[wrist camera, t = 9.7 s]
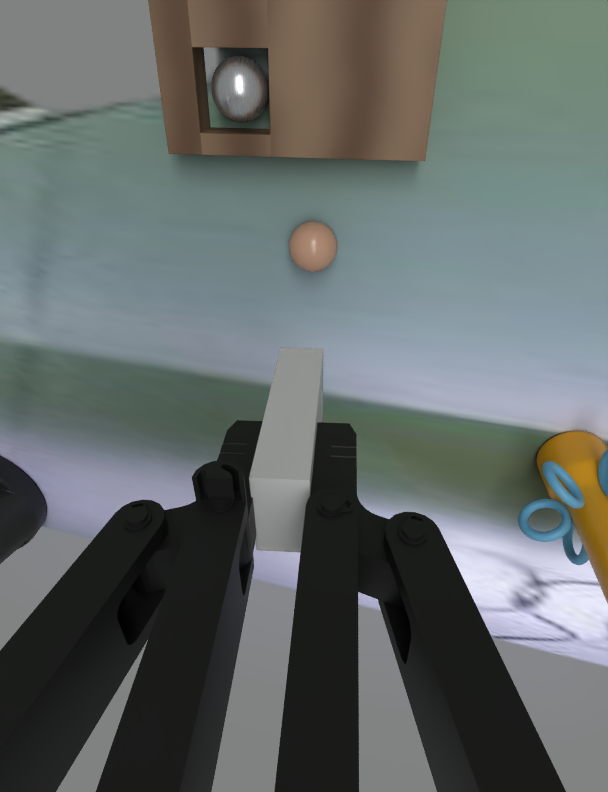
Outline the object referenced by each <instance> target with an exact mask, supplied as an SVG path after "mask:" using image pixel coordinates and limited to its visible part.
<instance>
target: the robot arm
mask: <svg viewBox="0 0 608 792" xmlns="http://www.w3.org/2000/svg"><path fill="white" fill-rule="evenodd" d="M322 415H323V349H313V348H281V349H280V353H279V357H278V361H277V365H276V369H275V373H274V378H273V382H272V386H271V390H270V394H269V398H268V402H267V406H266V410H265V414H264V418H263V421H239V420H237V421H236V422H235V423H234V424H233V425H232V426H231V427H230V428H229V429H228V430H227V433H226V436H225V439H224V442H223V445H222V448H221V451H220V454H219V457H218V460H217V461H213V462H210V463H207V464H204V465H203V466H201V467H200V468H199V469H197V470H196V471H195V473H194V474H193V476H192V481H193V486H194V491H195V496H196V501H195V502H193V503H191V504H189V505H186V506H182V507H178V508H173V509H169V510H164V509H163V508H162V507H161V505H160V504H159V503H156V502H154V501H152V500H139V501H134V502H131V503H129V504H127V505H125V506H123V507H122V508H121V509H119V510H118V511H117V512H116V513H115V514H114V515H113V517H112V518H111V519H110V520H109V521H108V523H107V524H106V525H105V526H104V527H103V529H102V530H101V531H100V532H99V533H98V534H97V536H96V537H95V538H94V539H93V540H92V542H91V543H90V544H89V545H88V547H87V548H86V549H85V550H84V551H83V552H82V554H81V555H80V556H79V557H78V558H77V560H76V561H75V562H74V563H73V564H72V566H71V567H70V568H69V569H68V570H67V572H66V573H65V574H64V575H63V577H62V578H61V579H60V580H59V581H58V582H57V584H56V585H55V586H54V587H53V588H52V590H51V591H50V592H49V593H48V594H47V596H46V597H45V598H44V599H43V600H42V602H41V603H40V604H39V605H38V606H37V608H36V609H35V610H34V611H33V612H32V614H31V615H30V616H29V617H28V618H27V619H26V621H25V622H24V623H23V624H22V625H21V627H20V628H19V629H18V630H17V632H16V633H15V634H14V635H13V636H12V637H11V639H10V640H9V641H8V642H7V643H6V645H5V646H4V647H3V648H2V649H1V651H0V792H56V791H57V789H58V787H59V786H60V784H61V782H62V781H63V779H64V777H65V776H66V774H67V772H68V770H69V769H70V767H71V766H72V764H73V762H74V761H75V759H76V757H77V756H78V754H79V753H80V751H81V749H82V748H83V746H84V744H85V743H86V741H87V739H88V738H89V736H90V734H91V733H92V731H93V729H94V728H95V726H96V724H97V723H98V721H99V719H100V718H101V716H102V714H103V713H104V711H105V709H106V708H107V706H108V704H109V703H110V701H111V699H112V698H113V696H114V695H115V693H116V691H117V690H118V688H119V686H120V685H121V683H122V681H123V679H124V678H125V676H126V675H127V673H128V671H129V670H130V668H131V666H132V665H133V663H134V661H135V660H136V658H137V656H138V655H139V653H140V651H141V650H142V648H143V647H144V645H145V643H146V642H147V640H148V642H147V645H146V648H145V650H144V654H143V657H142V659H141V662H140V665H139V668H138V671H137V674H136V677H135V680H134V682H133V685H132V688H131V692H130V694H129V697H128V700H127V703H126V706H125V709H124V712H123V714H122V717H121V720H120V723H119V726H118V729H117V732H116V735H115V738H114V741H113V743H112V746H111V749H110V752H109V755H108V758H107V761H106V764H105V767H104V769H103V772H102V775H101V778H100V781H99V784H98V787H97V790H96V792H211V790H212V785H213V779H214V774H215V769H216V764H217V759H218V752H219V748H220V743H221V738H222V732H223V727H224V722H225V717H226V711H227V706H228V701H229V695H230V689H231V685H232V679H233V674H234V669H235V664H236V658H237V653H238V648H239V643H240V637H241V632H242V627H243V621H244V616H245V611H246V606H247V601H248V595H249V590H250V584H251V579H252V574H253V569H254V560H253V550H254V545H255V540H256V549H257V550H268V551H286V552H301V554H300V563H299V572H298V582H297V591H296V601H295V609H294V618H293V627H292V636H291V646H290V655H289V664H288V674H287V683H286V692H285V700H284V710H283V720H282V728H281V737H280V746H279V755H278V764H277V774H276V783H275V792H359V730H358V729H359V726H358V725H359V724H358V723H359V721H358V720H359V712H358V711H359V710H358V709H359V707H358V592H360V593H363V594H365V595H368V596H371V597H373V598H376V599H378V601H379V605H380V608H381V611H382V614H383V618H384V621H385V624H386V628H387V630H388V634H389V637H390V641H391V644H392V647H393V650H394V653H395V657H396V660H397V663H398V666H399V670H400V673H401V676H402V679H403V683H404V686H405V689H406V692H407V696H408V699H409V702H410V704H411V708H412V711H413V715H414V718H415V721H416V725H417V727H418V731H419V734H420V737H421V741H422V743H423V747H424V750H425V754H426V757H427V760H428V763H429V767H430V770H431V773H432V776H433V779H434V783H435V786H436V789H437V792H566V791H565V789H564V787H563V785H562V783H561V780H560V778H559V776H558V774H557V772H556V770H555V768H554V766H553V764H552V762H551V760H550V758H549V756H548V754H547V751H546V749H545V747H544V745H543V743H542V741H541V739H540V737H539V735H538V733H537V731H536V729H535V727H534V725H533V723H532V721H531V718H530V716H529V714H528V712H527V710H526V708H525V706H524V704H523V702H522V700H521V698H520V696H519V693H518V691H517V689H516V687H515V685H514V683H513V681H512V679H511V677H510V675H509V673H508V671H507V669H506V667H505V664H504V662H503V661H502V658H501V656H500V654H499V652H498V650H497V648H496V646H495V644H494V642H493V640H492V637H491V635H490V633H489V631H488V629H487V627H486V625H485V623H484V621H483V619H482V617H481V615H480V613H479V611H478V608H477V606H476V604H475V602H474V600H473V598H472V596H471V594H470V592H469V590H468V588H467V586H466V584H465V582H464V579H463V577H462V575H461V573H460V571H459V569H458V567H457V565H456V563H455V561H454V559H453V557H452V555H451V553H450V550H449V548H448V546H447V544H446V542H445V540H444V538H443V536H442V534H441V532H440V530H439V528H438V527H437V525H436V524H435V523H434V522H433V521H432V520H431V519H429V518H428V517H426V516H425V515H422V514H418V513H415V512H403V513H399V514H396V515H394V516H393V517H392V518H390V519H386V518H383V517H380V516H378V515H375V514H373V513H371V512H369V511H368V510H367V509H365V508H364V507H363V506H362V505H361V503H360V502H359V500H358V497H357V466H356V433H355V432H354V430H353V428H352V427H351V425H350V424H347V423H322ZM46 513H47V508H46V503H45V500H44V497H43V495H42V493H41V492H40V490H39V488H38V487H37V486H36V484H35V483H34V482H33V481H32V480H31V479H30V478H29V477H28V476H27V475H26V474H25V473H24V472H23V471H22V470H20V469H19V468H18V467H17V466H15V465H14V464H12V463H11V462H9V461H8V460H6V459H4V458H2V457H0V564H1V563H2V562H3V561H4V560H5V559H6V558H7V557H9V556H10V555H11V554H12V553H13V552H14V551H16V550H17V549H19V548H21V547H23V546H24V545H26V544H27V543H28V542H29V541H30V540H31V539H32V538H33V537H34V536H35V534H36V533H37V532H38V530H39V529H40V527H41V526H42V524H43V523H44V521H45V518H46ZM148 638H149V639H148Z"/></svg>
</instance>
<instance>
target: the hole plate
mask: <svg viewBox="0 0 608 792" xmlns="http://www.w3.org/2000/svg"><path fill="white" fill-rule="evenodd" d="M148 2H149V10H150V17H151V25H152V32H153V40H154V47H155V55H156V62H157V70H158V77H159V84H160V92H161V100H162V107H163V115H164V122H165V130H166V137H167V145H168V152H169V154H196V155H230V156H264V157H298V158H332V159H366V160H400V161H425V158H426V151H427V143H428V136H429V129H430V121H431V114H432V106H433V99H434V92H435V84H436V77H437V69H438V62H439V55H440V47H441V40H442V32H443V25H444V18H445V10H446V3H447V0H148ZM203 47H229V48H268V60H269V97H270V129H246V128H210V118H209V107H208V95H207V84H206V72H205V61H204V49H203Z"/></svg>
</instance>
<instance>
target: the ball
mask: <svg viewBox="0 0 608 792" xmlns="http://www.w3.org/2000/svg"><path fill="white" fill-rule="evenodd" d="M289 253H290V256H291V258H292V260H293V262H294V263H295V264H296V265H297V266H298V267H299V268H301V269H303V270H305V271H308V272H318V271H321V270H323V269H325V268H327V267H328V266H329V265H330V264H331V263H332V262H333V260H334V259H335V256H336V253H337V240H336V237H335V234H334V233H333V231H332V230H331V229H330V228H329V227H328V226H327V225H325V224H323V223H321V222H317V221H309V222H305V223H303V224H301V225H300V226H298V227H297V228H296V229H295V230H294V232H293V233H292V235H291V237H290V240H289Z"/></svg>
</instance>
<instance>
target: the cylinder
mask: <svg viewBox="0 0 608 792" xmlns="http://www.w3.org/2000/svg"><path fill="white" fill-rule="evenodd" d="M537 466H538V469H539V472H540V474H541V477H542V479H543V482H544V484H545V487H546V489H547V492H548V494H549V496H550V498H551V499H539V500H535V501H532V502H530V503H529V504H527V505H526V506H525V507H524V508H523V509H522V510H521V512H520V514H519V517H518V524H519V527H520V529H521V531H522V532H523V533H524V534H525V535H526V536H527V537H529V538H531V539H533V540H537V541H544V542H546V541H553V540H556V539H559V538H561V537H562V536H563V547H564V551H565V553H566V556H567V557H568V559H569V560H570V561H571V562H572V563H574V564H576V565H582V564H584V563H586V562H587V561H588V559H589V561H590V563H591V565H592V568H593V570H594V572H595V575H596V577H597V579H598V582H599V584H600V587H601V589H602V591H603V594H604V596H605V598H606V601H607V603H608V448H607V447H606V445H605V444H604V442H603V441H602V440H601V439H600V438H599V437H597V436H596V435H594V434H591V433H589V432H584V431H570V432H566V433H561V434H559V435H556V436H554V437H553V438H551V439H549V440H548V441H547V442H545V443H544V444H543V446H542V447H541V448H540V450H539V451H538V455H537ZM540 508H553V509H555V510H557V511H559V512H560V514H561V515H562V522H561V524H560V525H559V526H558V527H557V528H555V529H554V530H551V531H547V532H539V531H536V530H533V529H532V528H531V527H530V526H529V524H528V518H529V516H530V514H531V513H532V512H534V511H535V510H537V509H540ZM574 527H575V528H576V530H577V533H578V535H579V537H580V540H581V542H582V549H581V551H580V553H579V555H576V553H575V551H574V548H573V543H572V534H573V530H574Z"/></svg>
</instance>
